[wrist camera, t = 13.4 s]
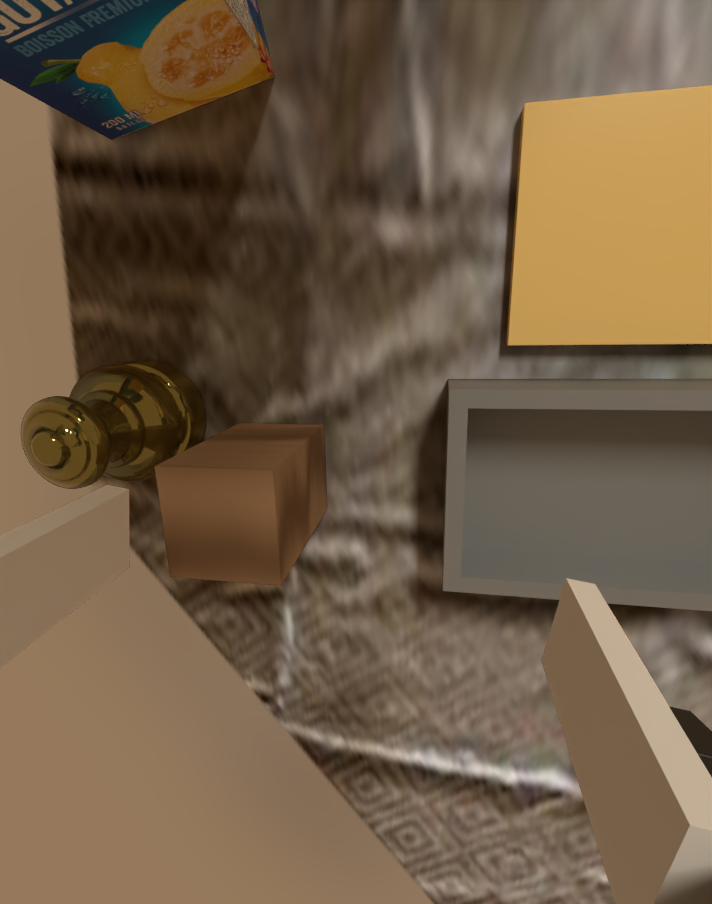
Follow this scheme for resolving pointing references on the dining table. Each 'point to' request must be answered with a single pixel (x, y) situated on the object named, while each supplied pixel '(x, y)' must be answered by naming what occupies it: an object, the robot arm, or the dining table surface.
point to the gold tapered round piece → (114, 424)
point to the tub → (580, 489)
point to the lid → (614, 221)
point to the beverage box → (131, 56)
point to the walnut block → (243, 502)
